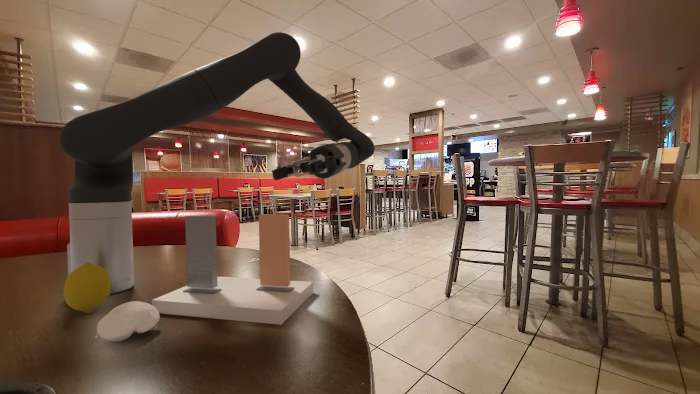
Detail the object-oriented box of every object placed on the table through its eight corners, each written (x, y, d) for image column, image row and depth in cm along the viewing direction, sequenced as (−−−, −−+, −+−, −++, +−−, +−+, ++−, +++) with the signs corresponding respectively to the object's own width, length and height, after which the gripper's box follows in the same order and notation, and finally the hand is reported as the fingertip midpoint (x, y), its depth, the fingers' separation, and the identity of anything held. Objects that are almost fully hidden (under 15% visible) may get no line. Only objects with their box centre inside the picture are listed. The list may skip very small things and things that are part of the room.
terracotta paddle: (260, 285, 49) (258, 214, 49) (263, 282, 50) (262, 214, 50) (287, 286, 48) (285, 214, 48) (290, 284, 49) (288, 214, 49)
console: (152, 312, 45) (151, 298, 45) (210, 285, 58) (209, 275, 58) (281, 324, 40) (281, 309, 40) (313, 292, 53) (313, 280, 53)
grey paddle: (187, 286, 49) (185, 216, 49) (192, 284, 50) (190, 215, 50) (212, 288, 48) (210, 216, 47) (217, 286, 49) (215, 215, 49)
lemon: (84, 307, 48) (83, 259, 48) (120, 305, 48) (118, 258, 48) (53, 321, 42) (51, 267, 42) (93, 319, 43) (92, 266, 43)
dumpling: (141, 323, 42) (140, 296, 42) (168, 327, 40) (168, 299, 40) (84, 348, 35) (83, 316, 35) (115, 355, 33) (114, 321, 33)
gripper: (302, 149, 71) (258, 158, 57) (354, 138, 65) (319, 146, 51) (309, 178, 73) (267, 195, 58) (360, 171, 67) (328, 187, 52)
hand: (291, 172), depth 55 cm, fingers open, 8 cm apart
